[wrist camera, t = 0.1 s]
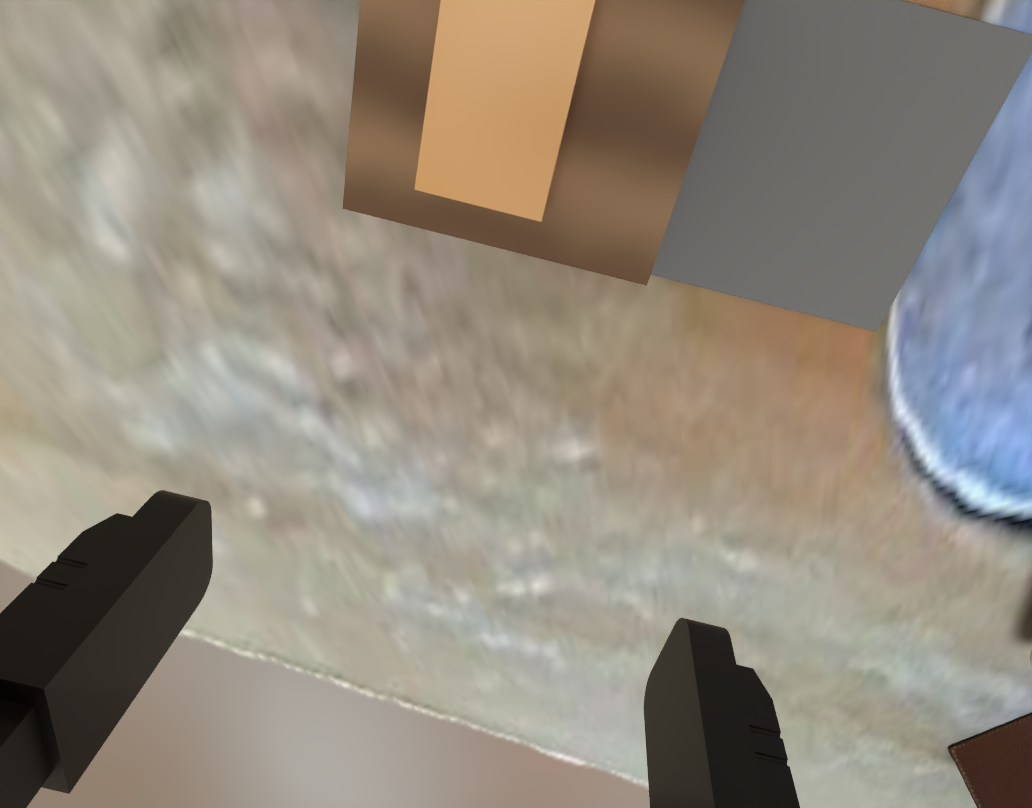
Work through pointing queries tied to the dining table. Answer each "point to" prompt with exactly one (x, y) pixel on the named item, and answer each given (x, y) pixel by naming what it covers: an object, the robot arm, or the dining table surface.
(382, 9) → the wooden block
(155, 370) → the dining table surface
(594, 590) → the dining table surface
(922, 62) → the mat
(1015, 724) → the letter holder
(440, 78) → the orange rectangular block
